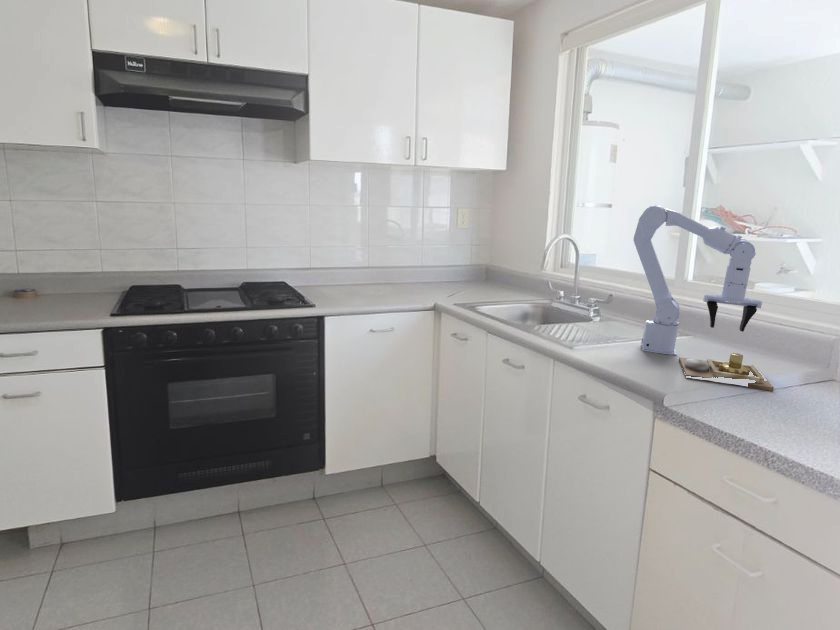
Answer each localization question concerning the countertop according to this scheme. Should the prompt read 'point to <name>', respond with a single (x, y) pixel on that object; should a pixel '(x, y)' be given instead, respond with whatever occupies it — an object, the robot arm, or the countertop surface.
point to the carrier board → (711, 370)
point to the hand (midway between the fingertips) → (726, 328)
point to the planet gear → (734, 365)
